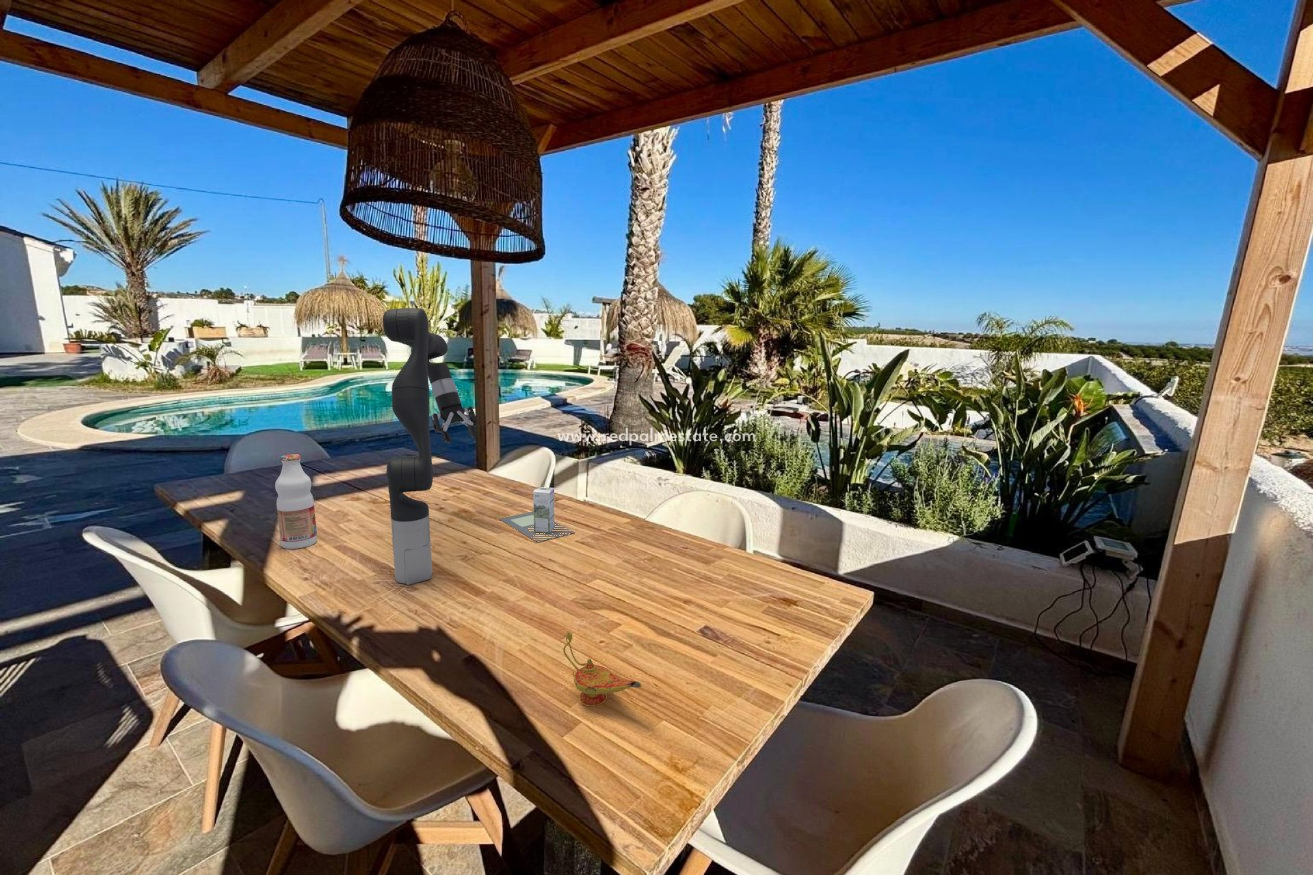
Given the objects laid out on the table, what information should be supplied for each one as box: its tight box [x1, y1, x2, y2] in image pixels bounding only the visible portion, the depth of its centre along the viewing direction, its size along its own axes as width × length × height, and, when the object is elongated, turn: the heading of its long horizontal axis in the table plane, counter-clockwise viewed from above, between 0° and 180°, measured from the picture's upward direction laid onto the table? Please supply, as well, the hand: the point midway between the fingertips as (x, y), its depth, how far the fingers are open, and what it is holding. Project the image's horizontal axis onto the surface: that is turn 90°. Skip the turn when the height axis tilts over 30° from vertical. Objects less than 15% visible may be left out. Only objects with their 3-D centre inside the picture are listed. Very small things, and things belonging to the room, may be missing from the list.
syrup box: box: [532, 486, 555, 533], centre depth 178 cm, size 6×6×14 cm
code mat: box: [498, 510, 576, 542], centre depth 184 cm, size 28×14×1 cm, turn 41°
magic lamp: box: [562, 631, 642, 707], centre depth 95 cm, size 7×18×11 cm, turn 56°
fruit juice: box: [274, 453, 318, 550], centre depth 161 cm, size 9×9×28 cm
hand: (461, 439), depth 177 cm, fingers open, 8 cm apart
